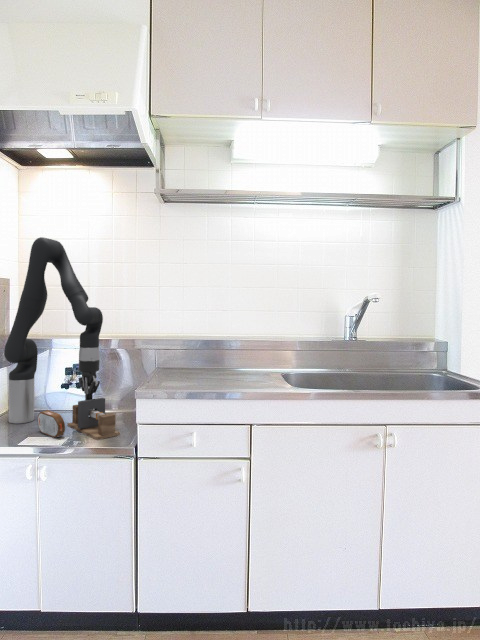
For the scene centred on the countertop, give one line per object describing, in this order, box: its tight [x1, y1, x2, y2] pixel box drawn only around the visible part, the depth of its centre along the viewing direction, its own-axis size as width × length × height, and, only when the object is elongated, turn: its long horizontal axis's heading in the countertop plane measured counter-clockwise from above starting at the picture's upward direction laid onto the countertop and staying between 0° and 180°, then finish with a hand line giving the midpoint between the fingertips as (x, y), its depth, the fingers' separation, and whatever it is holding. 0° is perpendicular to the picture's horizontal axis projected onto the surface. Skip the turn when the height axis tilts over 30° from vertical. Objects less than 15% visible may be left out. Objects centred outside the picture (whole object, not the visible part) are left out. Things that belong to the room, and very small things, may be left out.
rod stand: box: [67, 404, 121, 441], centre depth 160 cm, size 24×9×8 cm, turn 46°
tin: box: [37, 409, 66, 439], centre depth 153 cm, size 15×3×8 cm, turn 53°
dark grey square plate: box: [77, 397, 106, 429], centre depth 161 cm, size 2×10×10 cm, turn 136°
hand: (88, 403), depth 163 cm, fingers closed
